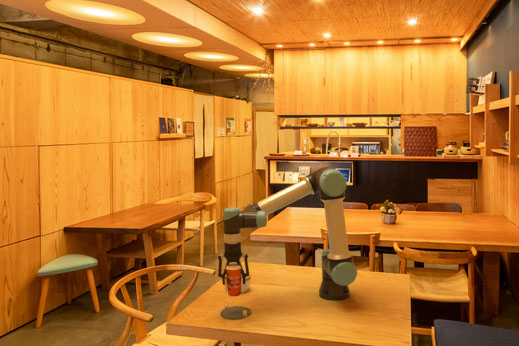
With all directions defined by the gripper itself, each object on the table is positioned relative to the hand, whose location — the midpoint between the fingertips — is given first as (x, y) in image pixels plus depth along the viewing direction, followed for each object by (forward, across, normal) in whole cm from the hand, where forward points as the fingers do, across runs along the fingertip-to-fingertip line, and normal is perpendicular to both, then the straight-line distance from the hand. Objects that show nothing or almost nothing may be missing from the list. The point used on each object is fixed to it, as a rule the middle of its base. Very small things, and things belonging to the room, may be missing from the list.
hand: (234, 291), depth 232 cm
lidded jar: (+11, -1, -31) cm, 33 cm away
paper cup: (+2, 0, 0) cm, 2 cm away
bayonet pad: (+11, 0, 0) cm, 11 cm away
